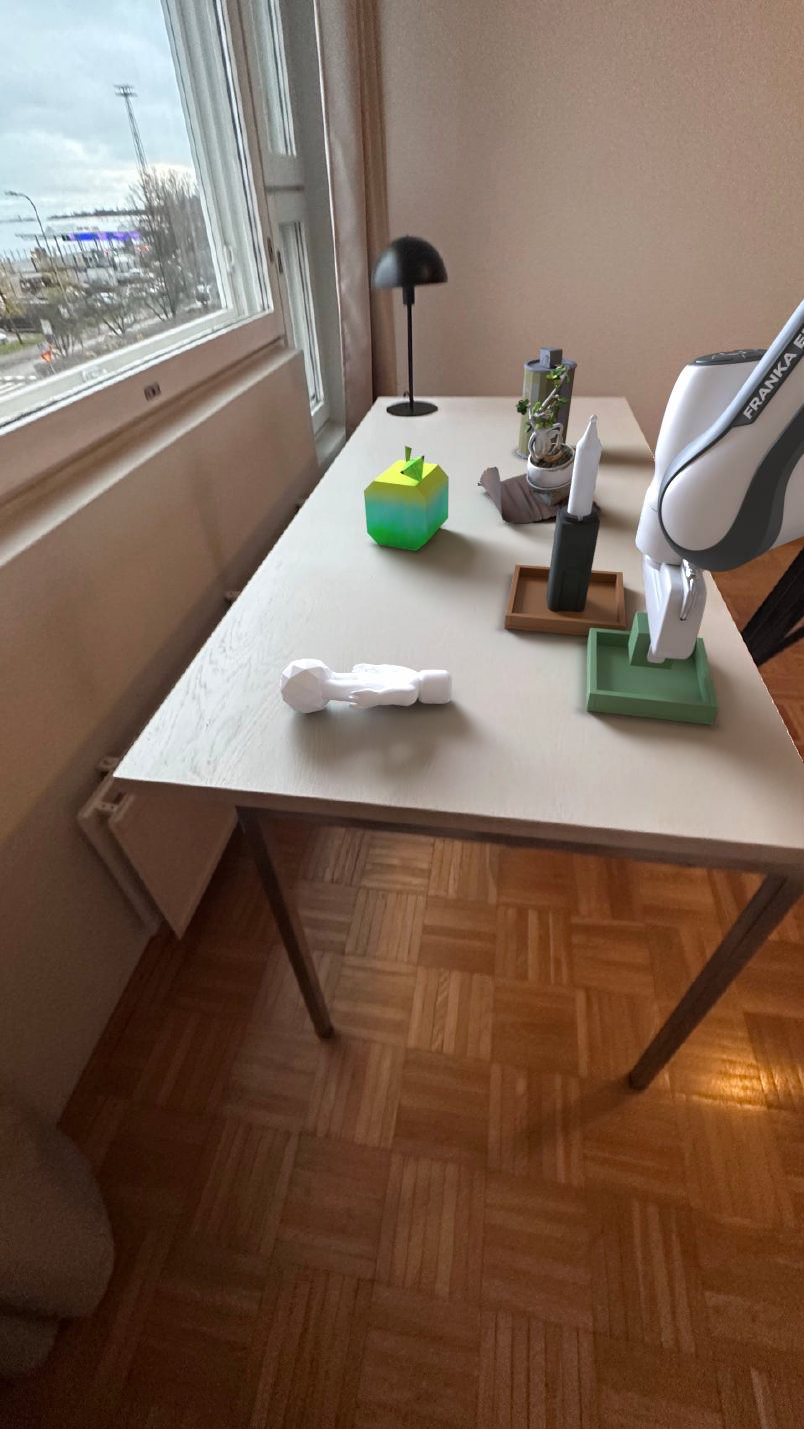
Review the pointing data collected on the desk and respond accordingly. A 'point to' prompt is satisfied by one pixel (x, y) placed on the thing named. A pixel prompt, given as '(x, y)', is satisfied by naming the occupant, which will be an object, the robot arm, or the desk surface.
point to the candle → (576, 530)
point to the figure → (361, 686)
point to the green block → (643, 644)
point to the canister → (545, 392)
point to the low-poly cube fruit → (407, 503)
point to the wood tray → (534, 615)
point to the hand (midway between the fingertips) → (652, 644)
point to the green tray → (647, 682)
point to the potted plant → (537, 466)
